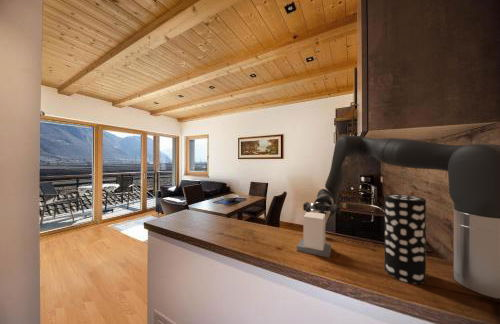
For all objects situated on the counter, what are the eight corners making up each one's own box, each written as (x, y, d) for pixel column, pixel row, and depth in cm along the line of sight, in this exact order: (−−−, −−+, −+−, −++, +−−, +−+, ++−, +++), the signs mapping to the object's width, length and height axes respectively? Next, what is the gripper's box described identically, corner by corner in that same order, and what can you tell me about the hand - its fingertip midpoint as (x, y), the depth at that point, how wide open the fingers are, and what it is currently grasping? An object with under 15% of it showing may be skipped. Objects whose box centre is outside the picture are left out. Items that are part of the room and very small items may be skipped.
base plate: (331, 248, 64) (331, 229, 64) (329, 257, 58) (329, 236, 58) (301, 242, 69) (301, 224, 69) (296, 250, 62) (296, 231, 62)
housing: (325, 243, 64) (325, 214, 64) (323, 250, 59) (322, 218, 59) (307, 240, 67) (306, 211, 67) (303, 247, 62) (303, 216, 62)
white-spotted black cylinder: (426, 288, 44) (426, 202, 44) (382, 274, 49) (382, 197, 49) (424, 272, 50) (425, 196, 50) (386, 261, 55) (386, 193, 55)
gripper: (308, 194, 91) (300, 200, 76) (341, 196, 84) (339, 203, 70) (308, 209, 91) (300, 219, 76) (341, 213, 84) (340, 224, 70)
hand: (319, 211), depth 73 cm, fingers open, 8 cm apart
